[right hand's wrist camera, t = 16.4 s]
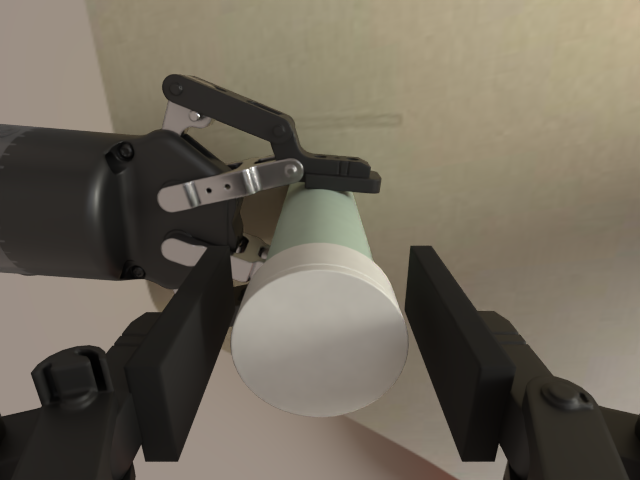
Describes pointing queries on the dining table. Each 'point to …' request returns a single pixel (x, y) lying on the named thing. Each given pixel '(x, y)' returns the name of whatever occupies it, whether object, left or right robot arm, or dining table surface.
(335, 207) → the pale green cylinder
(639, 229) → the dining table surface
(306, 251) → the lid
